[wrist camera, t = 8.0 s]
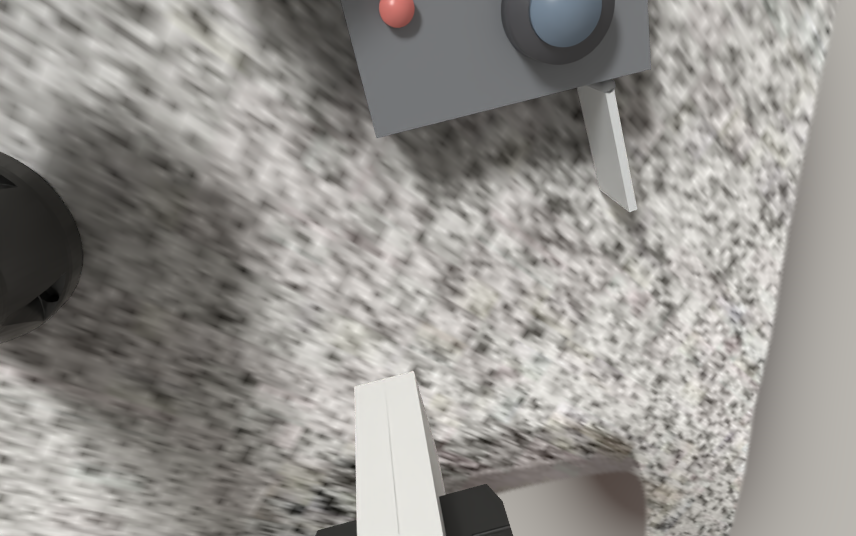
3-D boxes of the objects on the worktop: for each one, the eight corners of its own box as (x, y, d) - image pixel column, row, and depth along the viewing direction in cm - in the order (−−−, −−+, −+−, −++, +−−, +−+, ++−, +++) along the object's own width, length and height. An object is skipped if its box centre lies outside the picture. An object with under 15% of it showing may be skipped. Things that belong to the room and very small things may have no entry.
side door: (608, 186, 47) (639, 208, 42) (597, 190, 47) (627, 213, 42) (582, 67, 43) (614, 77, 38) (571, 72, 43) (601, 82, 38)
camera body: (373, 120, 43) (379, 152, 34) (333, -31, 39) (329, -40, 30) (607, 61, 44) (674, 78, 35) (594, -95, 39) (668, -123, 30)
